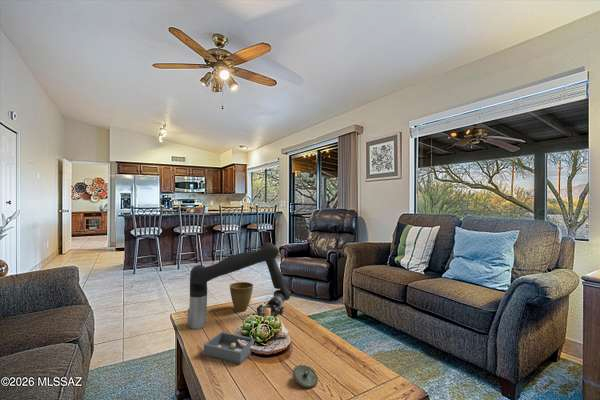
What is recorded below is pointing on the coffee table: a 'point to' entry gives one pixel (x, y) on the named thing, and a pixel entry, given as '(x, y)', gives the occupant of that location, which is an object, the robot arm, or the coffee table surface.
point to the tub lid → (268, 313)
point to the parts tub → (228, 348)
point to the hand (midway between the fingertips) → (266, 314)
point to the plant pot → (241, 295)
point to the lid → (305, 376)
